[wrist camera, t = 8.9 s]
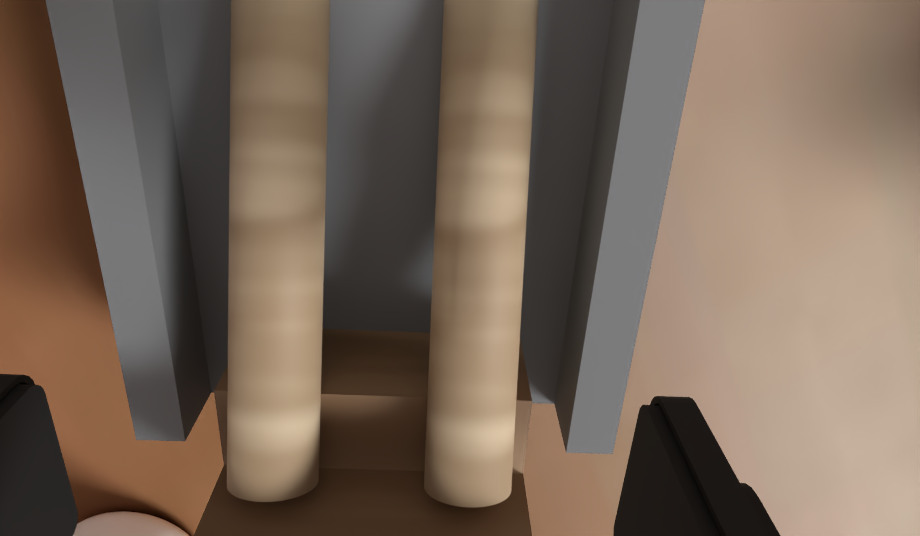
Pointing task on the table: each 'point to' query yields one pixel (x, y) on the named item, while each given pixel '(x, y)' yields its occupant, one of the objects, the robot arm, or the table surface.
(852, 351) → the table surface
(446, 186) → the dowel ramp
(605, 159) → the grey tray
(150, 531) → the drinking glass
